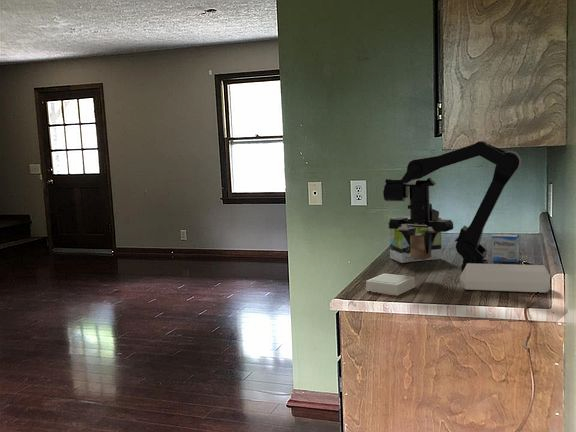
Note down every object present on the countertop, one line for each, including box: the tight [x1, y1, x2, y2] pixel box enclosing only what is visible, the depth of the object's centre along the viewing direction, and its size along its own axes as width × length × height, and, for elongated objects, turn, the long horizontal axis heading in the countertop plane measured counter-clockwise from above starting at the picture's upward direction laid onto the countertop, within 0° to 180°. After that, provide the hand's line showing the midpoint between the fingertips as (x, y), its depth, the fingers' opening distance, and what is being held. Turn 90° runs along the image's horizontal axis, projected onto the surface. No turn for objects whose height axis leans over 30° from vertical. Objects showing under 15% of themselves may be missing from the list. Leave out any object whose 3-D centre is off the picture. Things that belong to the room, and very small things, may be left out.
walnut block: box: [410, 233, 431, 261], centre depth 179 cm, size 4×4×7 cm
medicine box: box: [491, 233, 520, 264], centre depth 196 cm, size 8×4×9 cm, turn 62°
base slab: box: [365, 273, 416, 297], centre depth 170 cm, size 10×10×3 cm
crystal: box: [459, 263, 551, 294], centre depth 163 cm, size 7×7×24 cm
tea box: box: [389, 215, 442, 264], centre depth 207 cm, size 15×10×15 cm
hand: (421, 252), depth 179 cm, fingers closed on walnut block, 4 cm apart
